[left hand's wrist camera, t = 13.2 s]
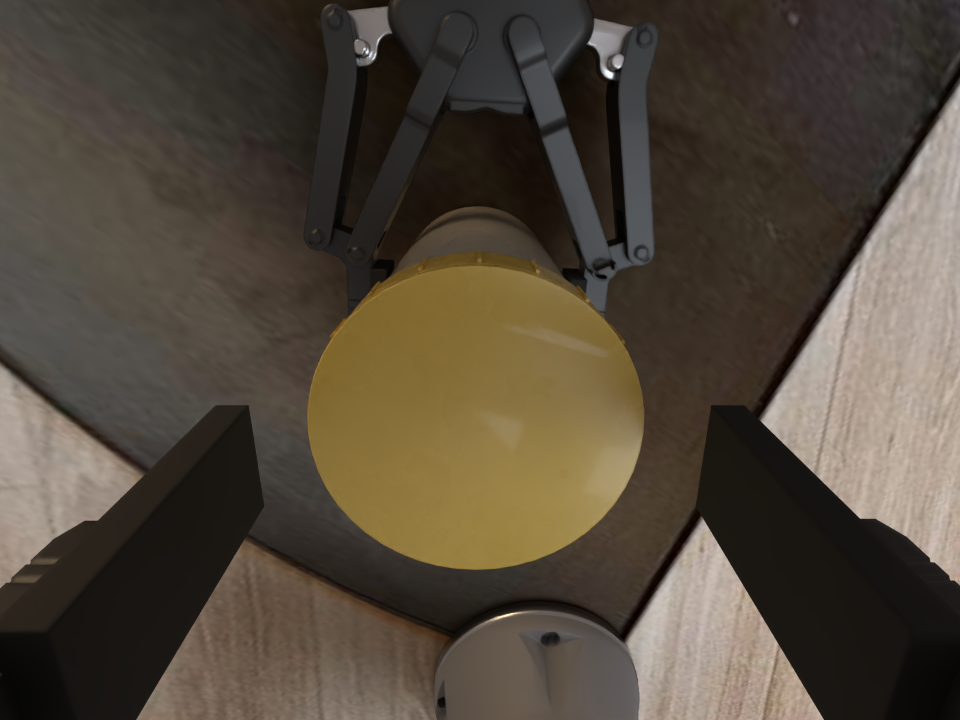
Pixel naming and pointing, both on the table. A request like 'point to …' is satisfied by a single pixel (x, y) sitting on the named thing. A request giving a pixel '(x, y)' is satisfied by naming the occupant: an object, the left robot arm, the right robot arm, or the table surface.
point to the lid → (475, 412)
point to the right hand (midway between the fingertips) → (472, 393)
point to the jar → (477, 238)
